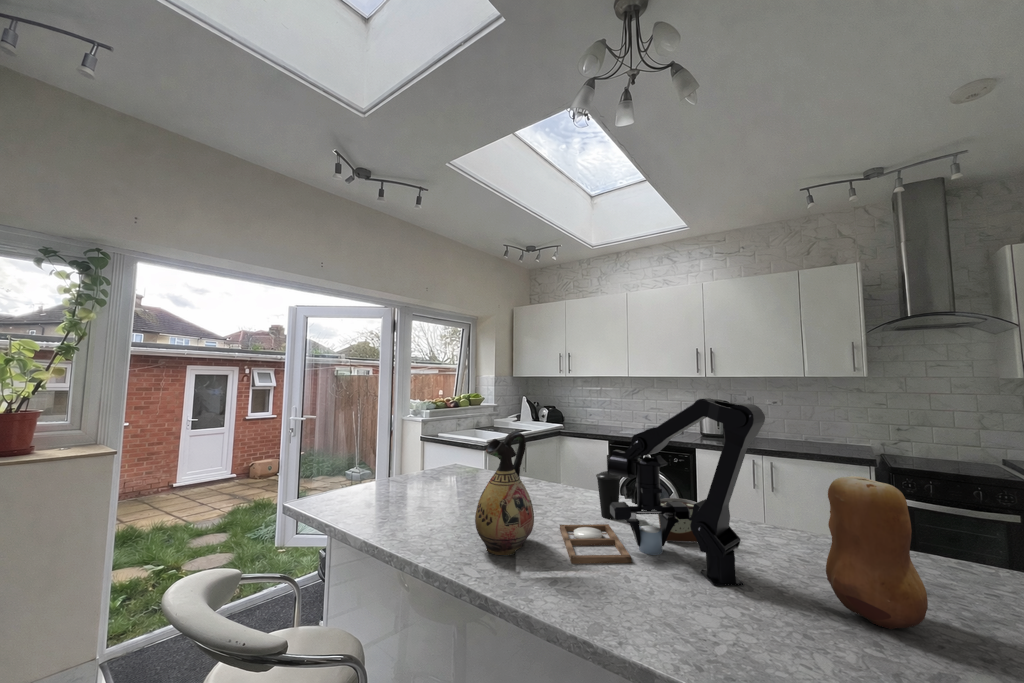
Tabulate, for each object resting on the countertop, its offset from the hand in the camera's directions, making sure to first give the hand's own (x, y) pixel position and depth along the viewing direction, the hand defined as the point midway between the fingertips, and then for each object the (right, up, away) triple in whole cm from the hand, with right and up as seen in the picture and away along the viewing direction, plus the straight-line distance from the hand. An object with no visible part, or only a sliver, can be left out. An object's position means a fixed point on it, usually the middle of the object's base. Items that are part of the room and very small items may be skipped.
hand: (650, 545), depth 103 cm
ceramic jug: (-36, -3, +4) cm, 36 cm away
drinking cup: (-4, -5, +26) cm, 26 cm away
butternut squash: (+31, +1, -29) cm, 43 cm away
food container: (+11, -3, +11) cm, 16 cm away
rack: (-14, -3, +4) cm, 15 cm away
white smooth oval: (-14, -2, +9) cm, 17 cm away
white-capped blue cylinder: (0, -1, 0) cm, 1 cm away
